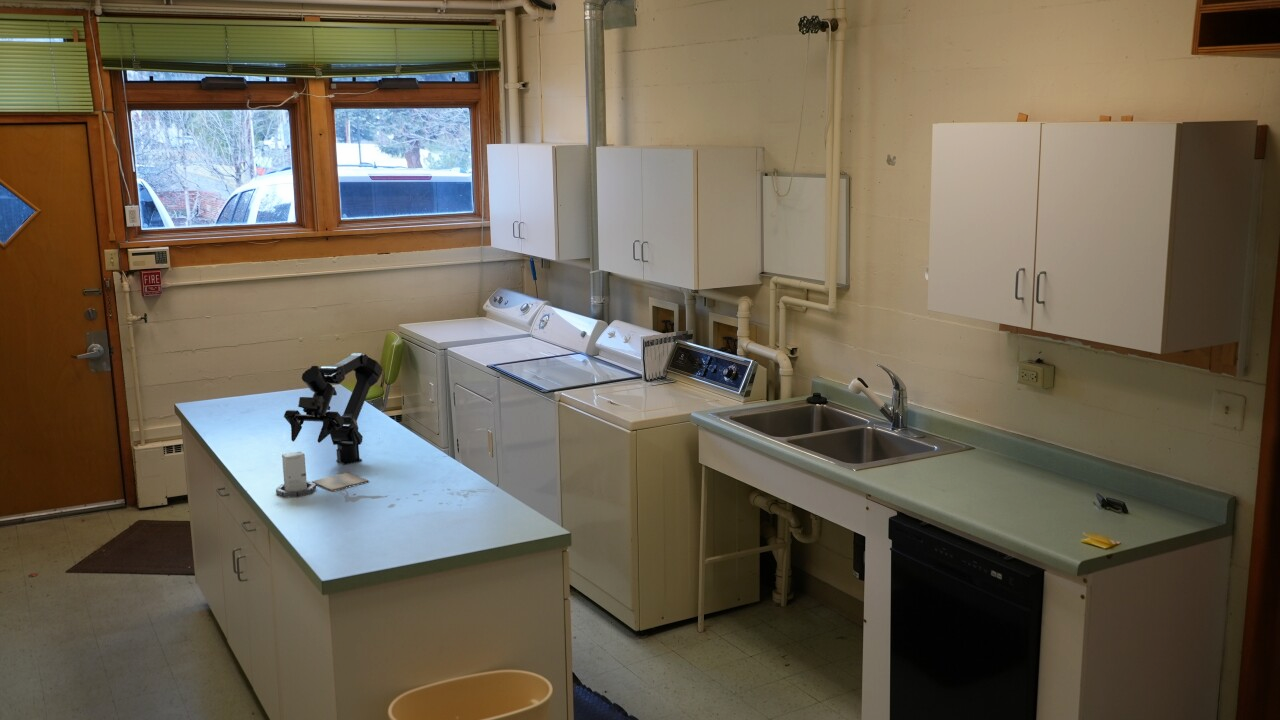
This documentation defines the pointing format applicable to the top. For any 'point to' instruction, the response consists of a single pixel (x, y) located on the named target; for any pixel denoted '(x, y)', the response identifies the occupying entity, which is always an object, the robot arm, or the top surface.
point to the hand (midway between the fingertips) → (305, 441)
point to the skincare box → (294, 471)
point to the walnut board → (339, 481)
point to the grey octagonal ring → (309, 490)
